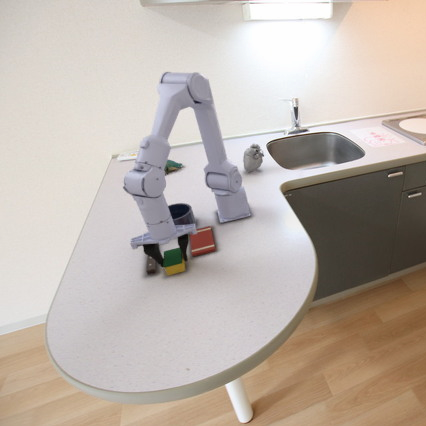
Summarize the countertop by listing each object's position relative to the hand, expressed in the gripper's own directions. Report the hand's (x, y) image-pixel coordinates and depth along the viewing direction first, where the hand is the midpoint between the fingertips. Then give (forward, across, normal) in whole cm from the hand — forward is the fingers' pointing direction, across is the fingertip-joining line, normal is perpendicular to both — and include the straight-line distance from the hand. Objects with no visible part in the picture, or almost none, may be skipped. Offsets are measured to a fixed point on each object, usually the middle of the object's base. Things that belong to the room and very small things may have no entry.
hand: (174, 261), depth 80 cm
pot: (+1, +1, +19) cm, 19 cm away
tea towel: (+1, +7, +8) cm, 11 cm away
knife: (+1, -6, +10) cm, 12 cm away
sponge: (+1, 0, 0) cm, 1 cm away
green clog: (+2, -6, +67) cm, 67 cm away
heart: (+2, +31, +50) cm, 59 cm away
